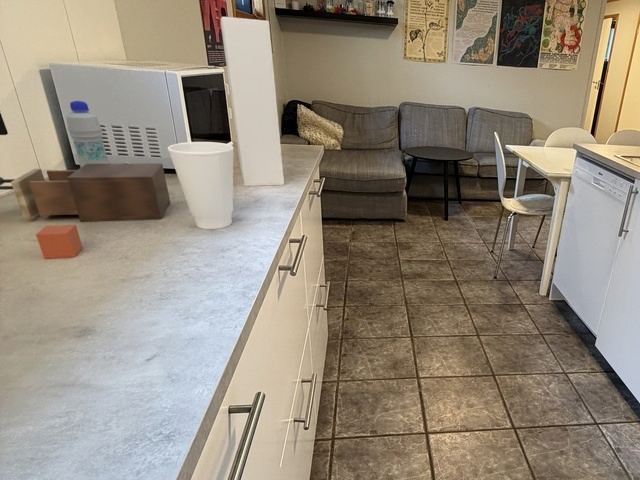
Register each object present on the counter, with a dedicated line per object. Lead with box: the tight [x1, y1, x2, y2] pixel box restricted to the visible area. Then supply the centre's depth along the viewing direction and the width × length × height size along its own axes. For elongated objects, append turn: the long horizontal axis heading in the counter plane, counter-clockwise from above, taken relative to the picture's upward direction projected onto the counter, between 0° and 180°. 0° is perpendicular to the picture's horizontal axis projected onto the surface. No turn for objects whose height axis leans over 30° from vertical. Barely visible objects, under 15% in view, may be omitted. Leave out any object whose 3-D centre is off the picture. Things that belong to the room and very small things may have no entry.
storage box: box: [219, 16, 285, 187], centre depth 130 cm, size 21×10×40 cm, turn 24°
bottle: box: [65, 100, 110, 168], centre depth 116 cm, size 7×7×20 cm
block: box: [35, 224, 84, 259], centre depth 82 cm, size 4×4×4 cm
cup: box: [167, 141, 235, 230], centre depth 97 cm, size 12×12×16 cm
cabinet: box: [67, 163, 171, 223], centre depth 102 cm, size 15×13×9 cm
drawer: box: [0, 168, 78, 219], centre depth 98 cm, size 20×11×7 cm, turn 110°
